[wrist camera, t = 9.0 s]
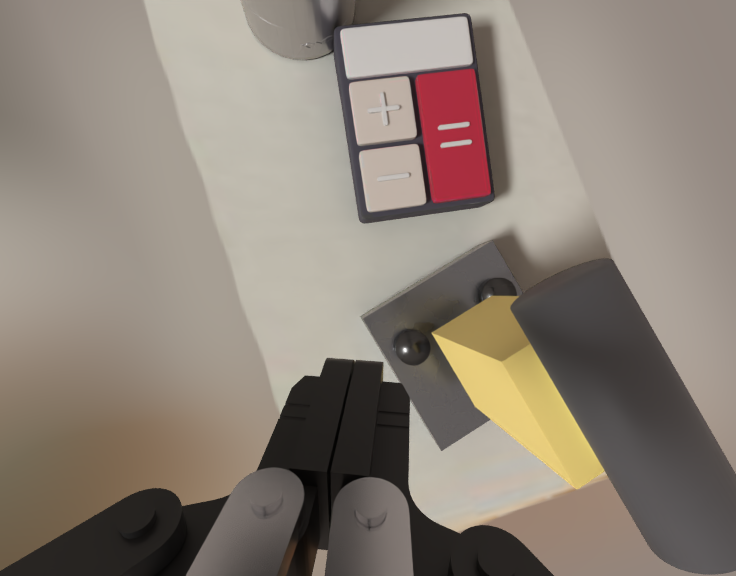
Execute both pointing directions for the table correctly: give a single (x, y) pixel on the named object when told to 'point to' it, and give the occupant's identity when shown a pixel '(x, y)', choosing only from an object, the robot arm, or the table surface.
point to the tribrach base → (420, 349)
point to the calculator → (413, 116)
